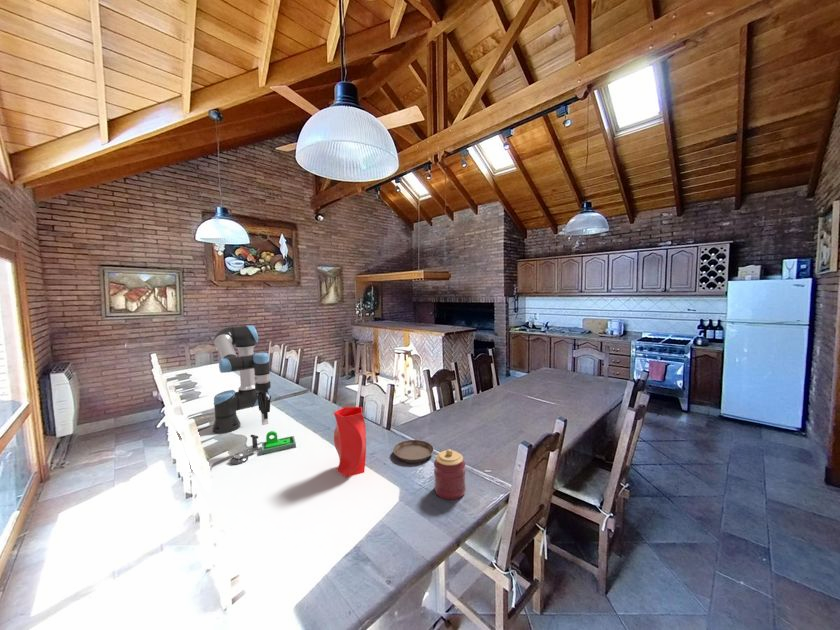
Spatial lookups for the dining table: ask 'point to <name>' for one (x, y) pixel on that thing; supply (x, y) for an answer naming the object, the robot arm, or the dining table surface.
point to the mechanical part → (275, 440)
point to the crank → (248, 451)
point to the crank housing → (240, 461)
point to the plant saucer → (413, 451)
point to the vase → (350, 440)
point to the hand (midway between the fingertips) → (265, 424)
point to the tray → (279, 448)
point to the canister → (449, 474)
